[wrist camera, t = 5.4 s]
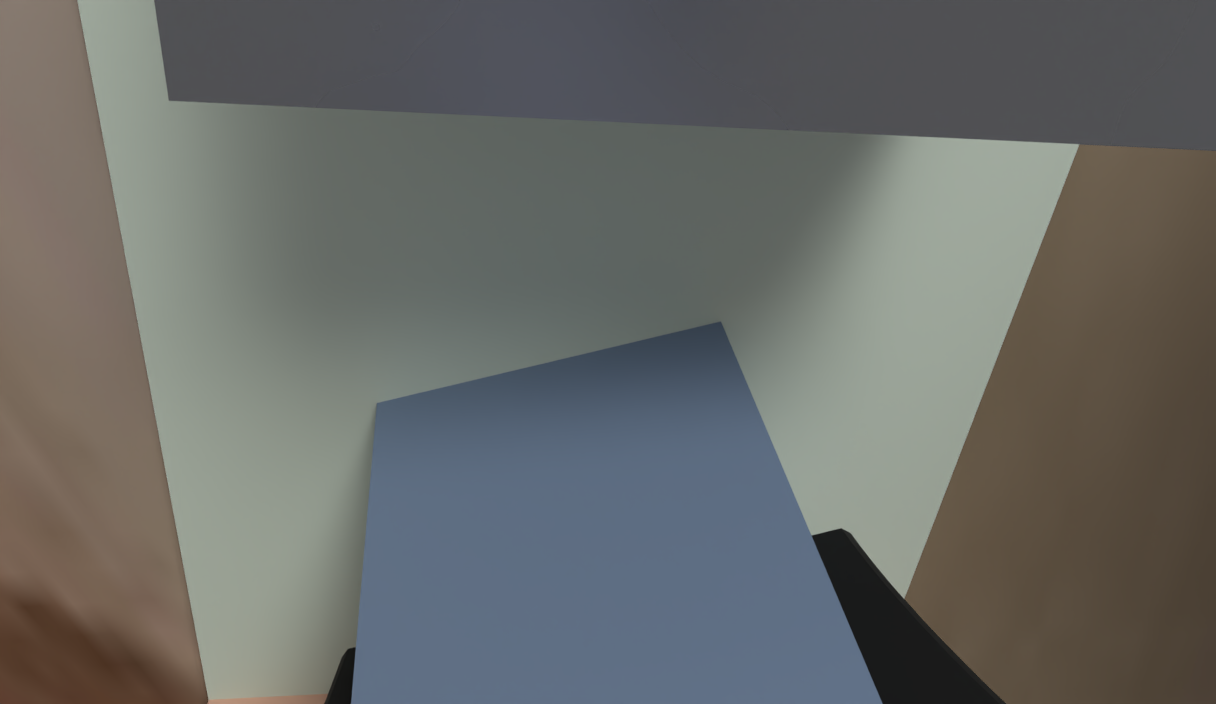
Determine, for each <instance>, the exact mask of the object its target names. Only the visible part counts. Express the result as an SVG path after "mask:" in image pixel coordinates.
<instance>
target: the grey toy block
mask: <svg viewBox="0 0 1216 704" xmlns="http://www.w3.org/2000/svg"><path fill="white" fill-rule="evenodd" d="M154 3H155V10H156V17H157V24H158V30H159V37H160V44H161V51H162V58H163V65H164V72H165V78H166V85H167V92H168V99H169V101H184V102H204V103H225V104H246V105H267V106H288V107H309V108H330V109H351V110H372V111H393V112H414V113H435V114H456V115H477V116H498V117H519V118H540V119H561V120H582V121H603V122H624V123H645V124H666V125H687V126H707V127H728V128H749V129H770V130H791V131H812V132H833V133H854V134H875V135H896V136H917V137H938V138H959V139H980V140H1001V141H1022V142H1043V143H1064V144H1085V145H1106V146H1127V147H1148V148H1169V149H1190V150H1211V151H1216V0H154Z"/></svg>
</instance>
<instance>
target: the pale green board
mask: <svg viewBox="0 0 1216 704" xmlns="http://www.w3.org/2000/svg"><path fill="white" fill-rule="evenodd" d="M77 1H78V6H79V12H80V17H81V22H82V28H83V33H84V38H85V44H86V49H87V54H88V60H89V65H90V70H91V76H92V81H93V86H94V92H95V97H96V102H97V108H98V113H99V118H100V124H101V129H102V134H103V140H104V145H105V150H106V156H107V161H108V166H109V172H110V177H111V182H112V188H113V193H114V198H115V204H116V209H117V214H118V220H119V225H120V230H121V236H122V241H123V246H124V252H125V257H126V262H127V268H128V273H129V278H130V284H131V289H132V294H133V300H134V305H135V310H136V316H137V321H138V326H139V332H140V337H141V342H142V348H143V353H144V358H145V364H146V369H147V374H148V380H149V385H150V390H151V396H152V401H153V406H154V412H155V417H156V422H157V428H158V433H159V438H160V444H161V449H162V454H163V460H164V465H165V470H166V476H167V481H168V486H169V492H170V497H171V502H172V508H173V513H174V518H175V524H176V529H177V534H178V540H179V545H180V550H181V556H182V561H183V566H184V571H185V577H186V582H187V587H188V593H189V598H190V603H191V609H192V614H193V619H194V625H195V630H196V635H197V641H198V646H199V651H200V657H201V662H202V667H203V673H204V678H205V683H206V689H207V694H208V699H209V700H208V704H324V703H325V700H326V698H327V695H328V693H329V690H330V687H331V685H332V682H333V679H334V677H335V674H336V671H337V669H338V666H339V663H340V661H341V658H342V656H343V655H344V653H345V652H346V651H347V649H349V648H353V647H356V640H357V628H358V617H359V605H360V593H361V582H362V570H363V558H364V547H365V535H366V523H367V512H368V500H369V488H370V477H371V465H372V453H373V442H374V430H375V418H376V407H377V403H379V402H383V401H388V400H392V399H396V398H400V397H404V396H409V395H413V394H417V393H421V392H426V391H430V390H434V389H438V388H442V387H447V386H451V385H455V384H459V383H463V382H468V381H472V380H476V379H480V378H485V377H489V376H493V375H497V374H501V373H506V372H510V371H514V370H518V369H522V368H527V367H531V366H535V365H539V364H544V363H548V362H552V361H556V360H560V359H565V358H569V357H573V356H577V355H581V354H586V353H590V352H594V351H598V350H602V349H607V348H611V347H615V346H619V345H624V344H628V343H632V342H636V341H640V340H645V339H649V338H653V337H657V336H661V335H666V334H670V333H674V332H678V331H683V330H687V329H691V328H695V327H699V326H704V325H708V324H712V323H716V322H720V321H721V323H722V325H723V328H724V330H725V332H726V335H727V337H728V339H729V342H730V344H731V346H732V349H733V351H734V354H735V356H736V358H737V361H738V363H739V365H740V368H741V370H742V372H743V375H744V377H745V380H746V382H747V384H748V387H749V389H750V391H751V394H752V396H753V399H754V401H755V403H756V406H757V408H758V410H759V413H760V415H761V417H762V420H763V422H764V425H765V427H766V429H767V432H768V434H769V436H770V439H771V441H772V443H773V446H774V448H775V451H776V453H777V455H778V458H779V460H780V462H781V465H782V467H783V469H784V472H785V474H786V477H787V479H788V481H789V484H790V486H791V488H792V491H793V493H794V496H795V498H796V500H797V503H798V505H799V507H800V510H801V512H802V514H803V517H804V519H805V522H806V524H807V526H808V529H809V531H810V533H811V535H815V534H820V533H824V532H828V531H832V530H836V529H840V528H842V529H844V530H846V531H848V532H850V533H851V534H852V535H853V537H854V538H855V540H856V541H857V542H858V544H859V545H860V546H861V548H862V549H863V550H864V551H865V553H866V554H867V555H868V557H869V558H870V559H871V560H872V562H873V563H874V564H875V565H876V567H877V568H878V569H879V570H880V571H881V573H882V574H883V575H884V576H885V577H886V579H887V580H888V581H889V582H890V583H891V585H892V586H893V587H894V588H895V589H896V590H897V592H898V593H899V594H900V595H901V596H902V597H903V598H905V595H906V593H907V590H908V588H909V585H910V582H911V580H912V577H913V575H914V572H915V569H916V567H917V564H918V562H919V559H920V557H921V554H922V551H923V549H924V546H925V544H926V541H927V538H928V536H929V533H930V531H931V528H932V525H933V523H934V520H935V518H936V515H937V512H938V510H939V507H940V505H941V502H942V499H943V497H944V494H945V492H946V489H947V486H948V484H949V481H950V479H951V476H952V473H953V471H954V468H955V466H956V463H957V460H958V458H959V455H960V453H961V450H962V447H963V445H964V442H965V440H966V437H967V434H968V432H969V429H970V427H971V424H972V421H973V419H974V416H975V414H976V411H977V409H978V406H979V403H980V401H981V398H982V396H983V393H984V390H985V388H986V385H987V383H988V380H989V377H990V375H991V372H992V370H993V367H994V364H995V362H996V359H997V357H998V354H999V351H1000V349H1001V346H1002V344H1003V341H1004V338H1005V336H1006V333H1007V331H1008V328H1009V325H1010V323H1011V320H1012V318H1013V315H1014V312H1015V310H1016V307H1017V305H1018V302H1019V299H1020V297H1021V294H1022V292H1023V289H1024V286H1025V284H1026V281H1027V279H1028V276H1029V273H1030V271H1031V268H1032V266H1033V263H1034V260H1035V258H1036V255H1037V253H1038V250H1039V248H1040V245H1041V242H1042V240H1043V237H1044V235H1045V232H1046V229H1047V227H1048V224H1049V222H1050V219H1051V216H1052V214H1053V211H1054V209H1055V206H1056V203H1057V201H1058V198H1059V196H1060V193H1061V190H1062V188H1063V185H1064V183H1065V180H1066V177H1067V175H1068V172H1069V170H1070V167H1071V164H1072V162H1073V159H1074V157H1075V154H1076V151H1077V149H1078V146H1079V144H1064V143H1043V142H1022V141H1001V140H980V139H959V138H938V137H917V136H896V135H875V134H854V133H833V132H812V131H791V130H770V129H749V128H728V127H707V126H687V125H666V124H645V123H624V122H603V121H582V120H561V119H540V118H519V117H498V116H477V115H456V114H435V113H414V112H393V111H372V110H351V109H330V108H309V107H288V106H267V105H246V104H225V103H204V102H184V101H169V99H168V92H167V85H166V78H165V72H164V65H163V58H162V51H161V44H160V37H159V30H158V24H157V17H156V10H155V3H154V0H77Z"/></svg>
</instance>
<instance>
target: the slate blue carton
mask: <svg viewBox="0 0 1216 704" xmlns="http://www.w3.org/2000/svg"><path fill="white" fill-rule="evenodd" d="M351 704H882V701H881V699H880V697H879V694H878V692H877V689H876V687H875V685H874V682H873V680H872V678H871V675H870V673H869V671H868V668H867V666H866V663H865V661H864V659H863V656H862V654H861V652H860V649H859V647H858V645H857V642H856V640H855V637H854V635H853V633H852V630H851V628H850V626H849V623H848V621H847V619H846V616H845V614H844V611H843V609H842V607H841V604H840V602H839V600H838V597H837V595H836V593H835V590H834V588H833V585H832V583H831V581H830V578H829V576H828V574H827V571H826V569H825V566H824V564H823V562H822V559H821V557H820V555H819V552H818V550H817V548H816V545H815V543H814V540H813V538H812V536H811V533H810V531H809V529H808V526H807V524H806V522H805V519H804V517H803V514H802V512H801V510H800V507H799V505H798V503H797V500H796V498H795V496H794V493H793V491H792V488H791V486H790V484H789V481H788V479H787V477H786V474H785V472H784V469H783V467H782V465H781V462H780V460H779V458H778V455H777V453H776V451H775V448H774V446H773V443H772V441H771V439H770V436H769V434H768V432H767V429H766V427H765V425H764V422H763V420H762V417H761V415H760V413H759V410H758V408H757V406H756V403H755V401H754V399H753V396H752V394H751V391H750V389H749V387H748V384H747V382H746V380H745V377H744V375H743V372H742V370H741V368H740V365H739V363H738V361H737V358H736V356H735V354H734V351H733V349H732V346H731V344H730V342H729V339H728V337H727V335H726V332H725V330H724V328H723V325H722V323H721V321H720V322H716V323H712V324H708V325H704V326H699V327H695V328H691V329H687V330H683V331H678V332H674V333H670V334H666V335H661V336H657V337H653V338H649V339H645V340H640V341H636V342H632V343H628V344H624V345H619V346H615V347H611V348H607V349H602V350H598V351H594V352H590V353H586V354H581V355H577V356H573V357H569V358H565V359H560V360H556V361H552V362H548V363H544V364H539V365H535V366H531V367H527V368H522V369H518V370H514V371H510V372H506V373H501V374H497V375H493V376H489V377H485V378H480V379H476V380H472V381H468V382H463V383H459V384H455V385H451V386H447V387H442V388H438V389H434V390H430V391H426V392H421V393H417V394H413V395H409V396H404V397H400V398H396V399H392V400H388V401H383V402H379V403H377V407H376V418H375V430H374V442H373V453H372V465H371V477H370V488H369V500H368V512H367V523H366V535H365V547H364V558H363V570H362V582H361V593H360V605H359V617H358V628H357V640H356V652H355V663H354V675H353V687H352V698H351Z"/></svg>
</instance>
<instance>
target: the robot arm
mask: <svg viewBox="0 0 1216 704" xmlns="http://www.w3.org/2000/svg"><path fill="white" fill-rule="evenodd" d="M811 536H812V538H813V540H814V543H815V545H816V548H817V550H818V552H819V555H820V557H821V559H822V562H823V564H824V566H825V569H826V571H827V574H828V576H829V578H830V581H831V583H832V585H833V588H834V590H835V593H836V595H837V597H838V600H839V602H840V604H841V607H842V609H843V611H844V614H845V616H846V619H847V621H848V623H849V626H850V628H851V630H852V633H853V635H854V637H855V640H856V642H857V645H858V647H859V649H860V652H861V654H862V656H863V659H864V661H865V663H866V666H867V668H868V671H869V673H870V675H871V678H872V680H873V682H874V685H875V687H876V689H877V692H878V694H879V697H880V699H881V701H882V704H1006V703H1005V702H1004V701H1003V700H1002V699H1001V698H999V697H998V696H997V695H996V694H995V693H994V692H993V691H992V690H991V689H990V688H989V687H988V686H987V685H986V684H985V683H984V682H983V681H982V680H981V679H980V678H979V677H978V676H977V675H976V674H975V673H974V672H973V671H972V670H971V669H970V668H969V667H968V666H967V665H966V664H965V663H964V662H963V661H962V660H961V659H960V658H959V657H958V656H957V655H956V654H955V653H954V652H953V651H952V650H951V649H950V648H949V647H948V646H947V645H946V644H945V643H944V642H943V641H942V640H941V639H940V638H939V637H938V636H937V635H936V633H935V632H934V631H933V630H932V629H931V628H930V627H929V626H928V625H927V624H926V623H925V622H924V621H923V620H922V618H921V617H920V616H919V615H918V614H917V613H916V612H915V611H914V610H913V608H912V607H911V606H910V605H909V604H908V603H907V602H906V601H905V599H904V598H903V597H902V596H901V595H900V594H899V593H898V592H897V590H896V589H895V588H894V587H893V586H892V585H891V583H890V582H889V581H888V580H887V579H886V577H885V576H884V575H883V574H882V573H881V571H880V570H879V569H878V568H877V567H876V565H875V564H874V563H873V562H872V560H871V559H870V558H869V557H868V555H867V554H866V553H865V551H864V550H863V549H862V548H861V546H860V545H859V544H858V542H857V541H856V540H855V538H854V537H853V535H852V534H851V533H850V532H848V531H846V530H844V529H842V528H840V529H836V530H832V531H828V532H824V533H820V534H815V535H811ZM355 652H356V647H353V648H349V649H347V651H346V652H345V653H344V655H343V656H342V658H341V661H340V663H339V666H338V669H337V671H336V674H335V677H334V679H333V682H332V685H331V687H330V690H329V693H328V695H327V698H326V700H325V703H324V704H351V698H352V687H353V675H354V663H355Z"/></svg>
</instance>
